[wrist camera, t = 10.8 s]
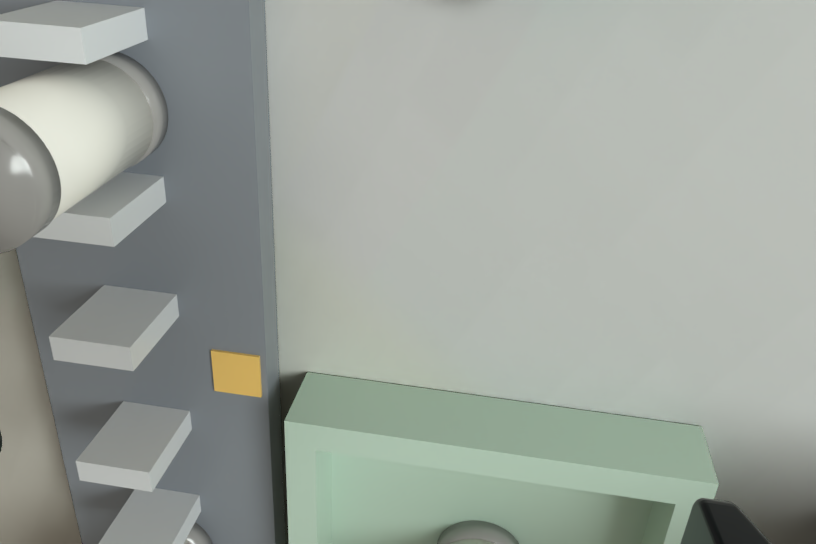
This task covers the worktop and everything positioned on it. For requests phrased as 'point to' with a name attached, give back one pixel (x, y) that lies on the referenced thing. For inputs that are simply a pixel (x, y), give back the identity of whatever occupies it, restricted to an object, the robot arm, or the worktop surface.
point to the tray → (482, 468)
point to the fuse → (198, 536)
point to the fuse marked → (476, 534)
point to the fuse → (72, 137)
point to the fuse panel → (164, 281)
